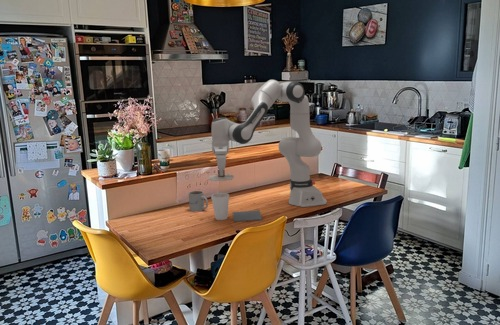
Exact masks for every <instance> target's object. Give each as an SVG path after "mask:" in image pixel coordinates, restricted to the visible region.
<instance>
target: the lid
mask: <svg viewBox="0 0 500 325" xmlns="http://www.w3.org/2000/svg"><path fill="white" fill-rule="evenodd" d="M208 177H209V178H208V180H209V181H213V182H227V181H232V180H233V179H234V178H235V176H234V175H233V174H228V173H226V172H225V169H223V176H220V171H219V169H217V174H212V175H209V176H208Z"/></svg>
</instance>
